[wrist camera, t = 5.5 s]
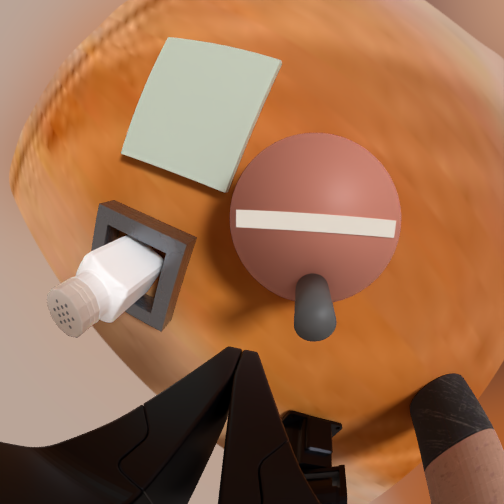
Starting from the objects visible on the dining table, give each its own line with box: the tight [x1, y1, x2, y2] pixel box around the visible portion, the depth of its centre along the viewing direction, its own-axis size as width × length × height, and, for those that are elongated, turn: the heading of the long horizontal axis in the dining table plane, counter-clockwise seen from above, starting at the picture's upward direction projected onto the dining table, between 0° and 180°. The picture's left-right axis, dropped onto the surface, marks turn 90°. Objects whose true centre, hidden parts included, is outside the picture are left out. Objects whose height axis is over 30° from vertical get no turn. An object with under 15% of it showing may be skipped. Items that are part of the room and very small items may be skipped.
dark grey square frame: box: [91, 200, 197, 332], centre depth 20 cm, size 8×8×2 cm
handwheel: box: [230, 133, 401, 341], centre depth 13 cm, size 10×10×5 cm
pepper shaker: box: [47, 235, 164, 338], centre depth 17 cm, size 4×4×10 cm
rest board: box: [121, 37, 282, 193], centre depth 17 cm, size 10×9×1 cm
